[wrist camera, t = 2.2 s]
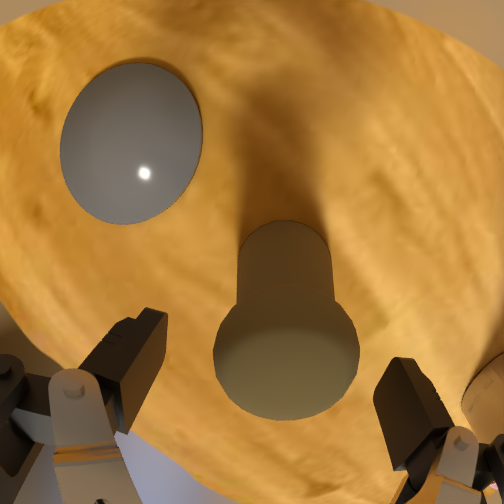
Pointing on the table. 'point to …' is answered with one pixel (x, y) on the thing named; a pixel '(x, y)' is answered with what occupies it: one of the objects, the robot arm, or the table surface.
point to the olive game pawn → (285, 328)
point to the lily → (494, 486)
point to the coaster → (131, 143)
